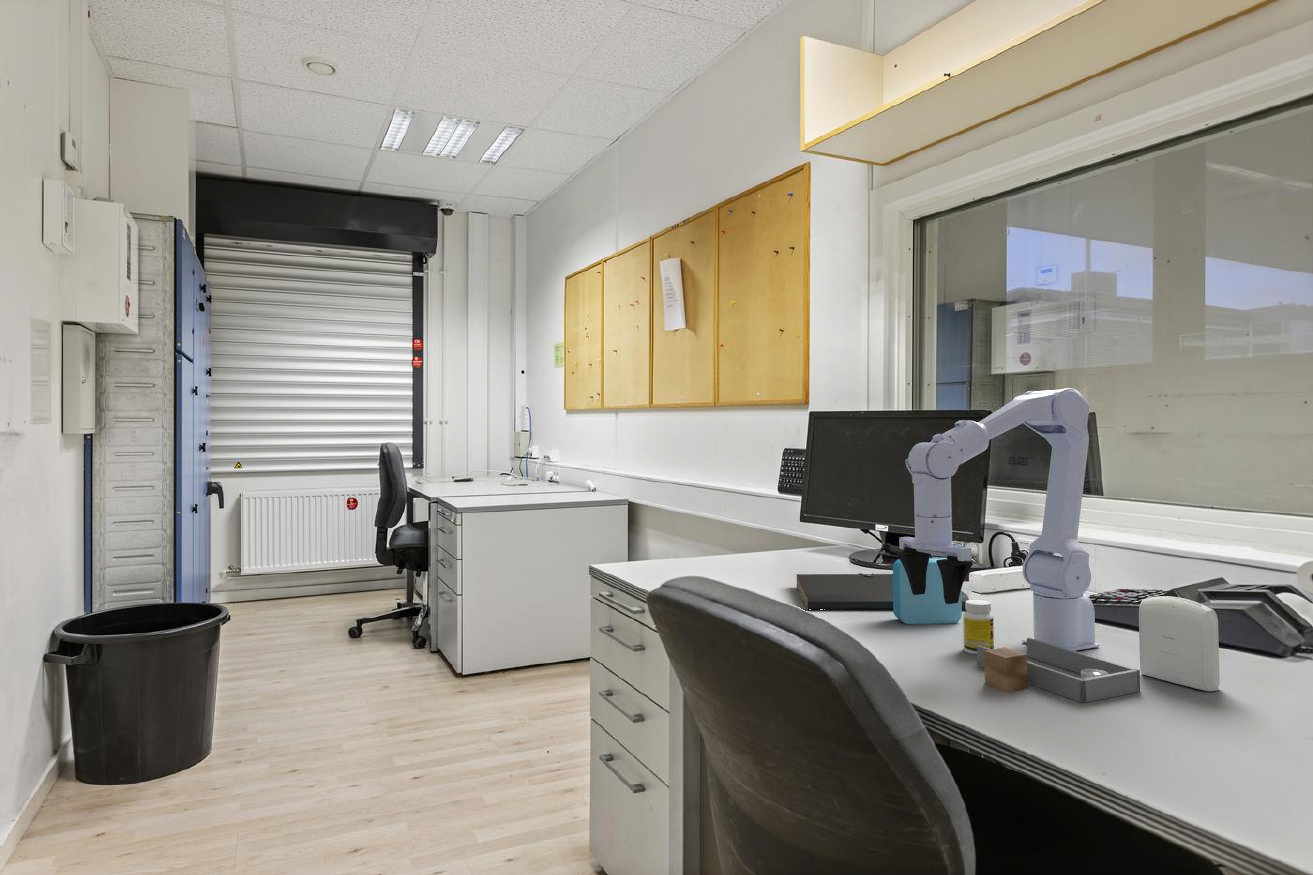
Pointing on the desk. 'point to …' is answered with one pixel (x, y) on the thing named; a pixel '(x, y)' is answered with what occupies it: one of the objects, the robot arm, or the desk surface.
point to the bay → (1074, 688)
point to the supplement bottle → (978, 626)
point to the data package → (923, 598)
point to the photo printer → (1179, 642)
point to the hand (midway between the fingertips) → (934, 598)
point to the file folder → (849, 591)
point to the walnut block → (1006, 669)
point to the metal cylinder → (1092, 673)
